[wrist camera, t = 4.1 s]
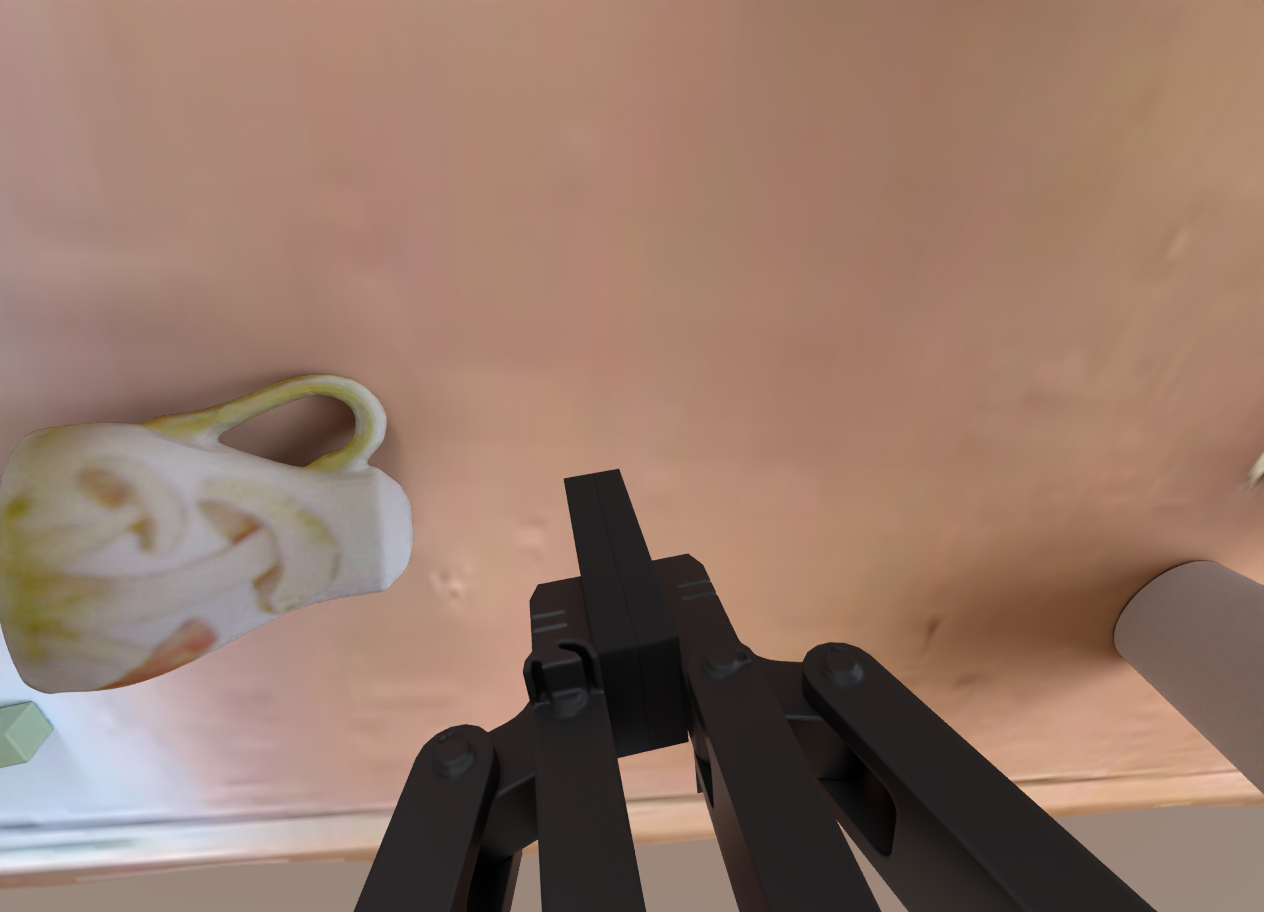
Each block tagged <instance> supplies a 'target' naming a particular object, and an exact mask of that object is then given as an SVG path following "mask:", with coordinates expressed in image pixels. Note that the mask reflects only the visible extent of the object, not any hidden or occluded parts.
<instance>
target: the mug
mask: <svg viewBox="0 0 1264 912" xmlns="http://www.w3.org/2000/svg"><path fill="white" fill-rule="evenodd" d="M315 395H325V396H329V397H332V398H336V399H340V400H341V401H343V402H345V403H346V404H347V405H348V406H349V407H350V408H351V410H352V411H353V414H354V416H355V419H356V425H355V434H354V437H353V438H352V440H351V442H350V443H349V444H347V445H346V446H345V447H344V448H342V449H340V450H337V451H334V452H330V453H327V454H325V455H323V456H322V457H320V458H318V459H317V460H316V461H314V462H313V463H311V464H310V465H308V466H305V467H297V466H292V465H288V464H283V463H279V462H275V461H271V460H268V459H265V458H262V457H259V456H255V455H252V454H249V453H246V452H243V451H240V450H238V449H235V448H232V447H229V446H226V445H224V444H222V443H220V441H219V436H220V435H221V434H222V433H223V432H225V431H227V430H229V429H231V428H233V427H236V426H238V425H240V424H242V423H244V422H246V421H247V420H249V419H251V418H253V417H255V416H257V415H259V414H262V413H264V412H266V411H269V410H271V409H273V408H275V407H278V406H280V405H283V404H286V403H289V402H292V401H295V400H298V399H301V398H305V397H309V396H315ZM386 427H387V418H386V414H385V410H384V408H383V406H382V405H381V403H380V401H379V400H378V399H377V398H376V397H375V396H374V395H373V394H372V393H371V392H370V391H369V390H368V389H367V388H366V387H364V386H362V385H361V384H359V383H357V382H356V381H354V380H351V379H347V378H343V377H339V376H334V375H329V374H325V375H304V376H299V377H294V378H290V379H286V380H283V381H280V382H278V383H275V384H273V385H270V386H268V387H265V388H263V389H261V390H258V391H256V392H253V393H251V394H248V395H246V396H243V397H240V398H237V399H234V400H231V401H228V402H225V403H222V404H219V405H216V406H213V407H210V408H207V409H203V410H195V411H192V412H188V413H177V414H171V415H164V416H160V417H157V418H154V419H152V420H150V421H148V422H146V423H144V424H131V423H115V422H102V423H84V424H75V425H67V426H59V427H51V428H43V429H40V430H37V431H34V432H32V433H30V434H28V435H26V436H25V437H23V438H22V439H21V440H20V442H19V443H18V445H17V446H16V448H15V449H14V450H13V452H12V453H11V455H10V457H9V459H8V461H7V464H6V466H5V470H4V473H3V476H2V480H1V485H0V623H1V628H2V631H3V635H4V639H5V642H6V645H7V648H8V650H9V653H10V655H11V658H12V660H13V663H14V665H15V667H16V669H17V671H18V673H19V675H20V677H21V679H22V680H23V682H24V683H25V684H26V685H28V686H29V687H31V688H33V689H35V690H37V691H40V692H43V693H48V694H54V693H61V692H86V691H100V690H108V689H115V688H120V687H125V686H129V685H133V684H136V683H140V682H143V681H146V680H149V679H152V678H154V677H157V676H160V675H162V674H165V673H167V672H170V671H172V670H175V669H177V668H179V667H181V666H183V665H185V664H188V663H190V662H192V661H194V660H196V659H198V658H200V657H202V656H204V655H206V654H208V653H210V652H212V651H214V650H216V649H218V648H220V647H222V646H223V645H225V644H227V643H229V642H231V641H233V640H235V639H237V638H239V637H241V636H243V635H244V634H246V633H248V632H250V631H252V630H254V629H256V628H258V627H260V626H262V625H264V624H266V623H268V622H270V621H272V620H274V619H276V618H278V617H280V616H282V615H284V614H286V613H289V612H291V611H293V610H296V609H299V608H302V607H305V606H308V605H312V604H315V603H320V602H323V601H327V600H332V599H337V598H343V597H349V596H356V595H363V594H369V593H375V592H382V591H384V590H386V589H387V588H388V587H389V586H390V585H391V584H392V583H393V582H394V581H395V580H396V579H397V578H398V577H399V576H400V575H401V574H402V573H403V571H404V570H405V568H406V567H407V564H408V562H409V559H410V554H411V547H412V541H413V527H412V516H411V505H410V503H409V500H408V497H407V495H406V494H405V492H404V491H403V489H402V488H401V486H400V485H399V484H398V483H397V482H396V481H394V480H393V479H392V478H391V477H389V476H388V475H387V474H385V473H384V472H382V471H381V470H380V469H378V468H376V467H372V466H369V465H368V464H367V462H368V460H369V458H370V457H371V456H372V454H373V453H374V452H375V451H376V449H377V448H378V447H379V446H380V445H381V443H382V442H383V440H384V437H385V432H386Z"/></svg>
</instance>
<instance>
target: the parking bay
mask: <svg viewBox="0 0 1264 912" xmlns="http://www.w3.org/2000/svg"><path fill="white" fill-rule="evenodd" d="M52 731H53V727H52V726H51V724H50V723H49V722H48V720H47V719H46V718H45V716H44V715H43V714H42V712H41V711H40V710H39V708H38V707H37V706H36V704H35V703H34V702H28V703H23V704H18V705H13V706H8V707H3V708H0V768H2V767H7V766H12V765H17V764H22V763H26V762H28V761H29V760H30V759H31V758H32V757H33V755H34V754H35V753H36V751H37V750H38V749H39V747H40V746H41V745H42V744H43V742H44V741H45V740H46V738H47V737H48V736H49V735H50V733H51V732H52Z"/></svg>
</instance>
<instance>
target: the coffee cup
mask: <svg viewBox="0 0 1264 912" xmlns="http://www.w3.org/2000/svg"><path fill="white" fill-rule="evenodd" d="M1114 644H1115V647H1116V650H1117V651H1118V653H1119V654H1120V655H1121V656H1122V657H1123V658H1124V659H1125V660H1126V661H1127V662H1128V663H1129V664H1130V665H1131V666H1132V667H1133V668H1134V669H1135V670H1136V671H1137V672H1138V673H1139V674H1140V675H1141V676H1143V677H1144V678H1145V679H1146V680H1147V681H1148V682H1149V683H1150V684H1151V685H1152V686H1153V687H1154V688H1155V689H1156V690H1157V691H1158V692H1159V693H1160V694H1161V695H1162V696H1163V697H1164V698H1165V699H1166V700H1167V701H1168V702H1169V703H1170V704H1171V705H1172V706H1173V707H1174V708H1175V709H1176V710H1178V711H1179V712H1180V713H1181V714H1182V715H1183V716H1184V717H1185V718H1186V719H1187V720H1188V721H1189V722H1190V723H1191V724H1192V725H1193V726H1194V727H1195V728H1196V729H1197V730H1198V731H1199V732H1200V733H1201V734H1202V735H1203V736H1204V737H1205V738H1206V739H1207V740H1208V741H1209V742H1210V743H1211V744H1212V745H1213V746H1215V747H1216V748H1217V749H1218V750H1219V751H1220V752H1221V753H1222V754H1223V755H1224V756H1225V757H1226V758H1227V759H1228V760H1229V761H1230V762H1231V763H1232V764H1233V765H1234V766H1235V767H1236V768H1237V769H1238V770H1239V771H1240V772H1241V773H1242V774H1243V775H1244V776H1245V777H1246V778H1247V779H1248V780H1249V781H1250V782H1251V783H1252V784H1254V785H1255V786H1256V787H1257V788H1258V789H1259V790H1260V791H1261V792H1262V793H1263V794H1264V586H1263V585H1261V584H1259V583H1257V582H1255V581H1253V580H1251V579H1249V578H1247V577H1245V576H1243V575H1241V574H1239V573H1237V572H1235V571H1233V570H1231V569H1229V568H1227V567H1225V566H1223V565H1221V564H1219V563H1216V562H1212V561H1196V562H1191V563H1187V564H1183V565H1181V566H1178V567H1175V568H1173V569H1171V570H1169V571H1167V572H1165V573H1163V574H1162V575H1160V576H1158V577H1157V578H1155V579H1154V580H1152V581H1151V582H1150V583H1148V584H1147V585H1146V586H1145V587H1144V588H1142V589H1141V590H1140V591H1139V592H1138V593H1137V594H1136V595H1135V596H1134V597H1133V598H1132V600H1131V601H1130V602H1129V603H1128V605H1127V606H1126V607H1125V609H1124V610H1123V612H1122V614H1121V615H1120V617H1119V619H1118V622H1117V624H1116V627H1115V631H1114Z"/></svg>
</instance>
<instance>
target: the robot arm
mask: <svg viewBox="0 0 1264 912" xmlns="http://www.w3.org/2000/svg"><path fill="white" fill-rule="evenodd" d="M564 484H565V489H566V495H567V501H568V506H569V512H570V518H571V523H572V529H573V535H574V540H575V546H576V552H577V558H578V563H579V569H580V574H581V576H579V577H574V578H569V579H564V580H559V581H554V582H549V583H543V584H538V585H537V587H536V589H535V591H534V593H533V595H532V597H531V599H530V618H531V633H532V634H531V636H532V652H531V654H530V655H529V656H528V658H527V659H526V660H525V664H524V668H523V675H524V679H525V683H526V687H527V691H528V695H529V699H530V701H529V702H528V704H527V705H526V707H525V708H524V709H523V710H522V711H521V712H520V713H519V714H518V715H517V716H516V717H515V718H513V719H511V720H510V721H508V722H507V723H505V724H503V725H501V726H499V727H497V728H495V729H494V730H492V731H490V732H486V731H485V730H484V729H482V728H481V727H479V726H473V725H467V724H464V725H459V726H454V727H450V728H448V729H446V730H444V731H442V732H440V733H438V734H436V735H435V736H434V737H433V738H431V739H430V740H429V741H428V742H427V743H426V744H425V745H424V746H423V748H422V749H421V751H420V752H419V754H418V756H417V757H416V759H415V762H414V764H413V766H412V769H411V771H410V774H409V776H408V779H407V781H406V784H405V786H404V789H403V791H402V794H401V796H400V798H399V801H398V803H397V806H396V808H395V811H394V813H393V816H392V818H391V821H390V823H389V826H388V828H387V831H386V833H385V835H384V838H383V840H382V843H381V845H380V848H379V850H378V853H377V855H376V858H375V860H374V863H373V865H372V868H371V870H370V873H369V875H368V877H367V880H366V883H365V885H364V888H363V890H362V892H361V895H360V897H359V900H358V902H357V905H356V907H355V910H354V912H510V910H511V905H512V900H513V895H514V890H515V886H516V881H517V876H518V871H519V866H520V861H521V857H522V849H523V848H525V847H526V846H528V845H530V844H531V843H533V842H534V841H536V840H538V846H539V864H540V884H541V901H542V902H541V903H542V912H646V908H645V903H644V898H643V893H642V887H641V883H640V877H639V871H638V867H637V861H636V856H635V850H634V845H633V839H632V834H631V829H630V824H629V818H628V813H627V808H626V802H625V797H624V792H623V786H622V781H621V776H620V771H619V765H618V760H617V758H621V757H625V756H629V755H634V754H638V753H642V752H646V751H651V750H655V749H659V748H664V747H668V746H672V745H677V744H681V743H685V742H689V740H688V732H689V735H690V738H691V741H692V744H693V748H694V758H695V769H696V780H697V792H698V793H701V792H703V794H704V797H705V800H706V804H707V807H708V810H709V813H710V817H711V820H712V823H713V827H714V830H715V833H716V836H717V840H718V843H719V846H720V850H721V853H722V856H723V859H724V862H725V866H726V869H727V872H728V876H729V879H730V882H731V886H732V889H733V892H734V895H735V899H736V902H737V905H738V908H739V911H740V912H881V910H880V908H879V906H878V904H877V902H876V900H875V898H874V896H873V894H872V892H871V890H870V888H869V886H868V884H867V882H866V879H865V877H864V875H863V873H862V871H861V870H860V867H859V865H858V863H857V862H856V859H855V857H854V855H853V853H852V851H851V849H850V847H849V845H848V843H847V841H846V839H845V837H844V835H843V833H842V830H841V828H840V826H839V824H838V822H839V823H840V825H841V826H842V827H843V829H844V830H845V831H846V832H847V834H848V835H849V836H850V837H851V839H852V840H853V841H854V843H855V844H856V845H857V846H858V848H859V849H860V850H861V852H862V853H863V854H864V855H865V857H866V858H867V859H868V860H869V862H870V863H871V864H872V866H873V867H874V868H875V869H876V871H877V872H878V873H879V875H880V876H881V877H882V878H883V880H884V881H885V882H886V883H887V885H888V886H889V887H890V888H891V890H892V891H893V892H894V894H895V895H896V896H897V897H898V899H899V900H900V901H901V903H902V904H903V905H904V906H905V908H906V909H907V910H908V911H909V912H1157V911H1156V910H1155V909H1153V908H1152V907H1151V906H1150V905H1149V904H1148V903H1146V901H1145V900H1143V899H1142V898H1141V897H1140V896H1139V895H1138V894H1137V893H1136V892H1134V891H1133V890H1132V889H1131V888H1130V887H1129V886H1128V885H1127V884H1126V883H1124V882H1123V881H1122V880H1121V879H1120V878H1119V877H1118V876H1117V875H1115V874H1114V873H1113V872H1112V871H1111V870H1110V869H1109V868H1108V867H1107V866H1105V865H1104V864H1103V863H1102V862H1101V861H1100V860H1098V858H1096V857H1095V856H1094V855H1093V854H1092V853H1091V852H1090V851H1088V850H1087V849H1086V848H1085V847H1084V846H1083V845H1082V844H1081V843H1080V842H1079V841H1077V840H1076V839H1075V838H1074V837H1073V836H1072V835H1071V834H1070V833H1069V832H1067V831H1066V830H1065V829H1064V828H1063V827H1062V826H1061V825H1059V824H1058V823H1057V822H1056V821H1055V820H1054V819H1053V818H1052V817H1051V816H1050V815H1048V814H1047V813H1046V812H1045V811H1044V810H1043V809H1042V808H1041V807H1039V806H1038V805H1037V804H1036V803H1035V802H1034V801H1033V800H1032V799H1031V798H1029V797H1028V796H1027V795H1026V794H1025V793H1024V792H1023V791H1022V790H1020V789H1019V788H1018V787H1017V786H1016V785H1015V784H1014V783H1013V782H1012V781H1010V780H1009V779H1008V778H1007V777H1006V776H1005V775H1004V774H1003V773H1001V772H1000V771H999V770H998V769H997V768H996V767H995V766H994V765H993V764H991V763H990V762H989V761H988V760H987V759H986V758H985V757H984V756H982V755H981V754H980V753H979V752H978V751H977V750H976V749H975V748H974V747H972V746H971V745H970V744H969V743H968V742H967V741H966V740H965V739H963V738H962V737H961V736H960V735H959V734H958V733H957V732H956V731H955V730H953V729H952V728H951V727H950V726H949V725H948V724H947V723H946V722H944V721H943V720H942V719H941V718H940V717H939V716H938V715H937V714H936V713H934V712H933V711H932V710H931V709H930V708H929V707H928V706H927V705H925V704H924V703H923V702H922V701H921V700H920V699H919V698H918V697H917V696H915V695H914V694H913V693H912V692H911V691H910V690H909V689H908V688H906V687H905V686H904V685H903V684H902V683H901V682H900V681H899V680H898V679H896V678H895V677H894V676H893V675H892V674H891V673H890V672H889V671H887V670H886V669H885V668H884V667H883V666H882V665H881V664H880V663H878V662H877V661H876V660H875V659H874V658H873V657H872V656H871V655H869V654H868V653H866V652H865V651H863V650H862V649H860V648H858V647H855V646H852V645H849V644H846V643H834V642H829V643H825V644H821V645H817V646H816V647H814V648H813V649H811V650H810V651H809V652H807V654H806V656H805V658H804V660H803V662H786V661H775V660H769V659H766V658H762V657H759V656H757V655H755V654H754V653H753V652H752V651H751V649H750V648H749V647H747V646H746V645H744V644H742V643H741V642H740V641H739V639H738V637H737V635H736V633H735V631H734V629H733V627H732V625H731V623H730V621H729V618H728V616H727V614H726V612H725V610H724V608H723V606H722V604H721V602H720V600H719V597H718V595H716V591H715V589H714V587H713V585H712V583H711V582H710V578H709V576H708V574H707V572H706V570H705V568H704V566H703V564H701V563H700V562H699V561H697V560H696V559H695V558H693V557H692V556H691V555H689V554H683V555H678V556H673V557H668V558H663V559H658V560H653V561H652V560H651V557H650V554H649V551H648V548H647V546H646V543H645V540H644V537H643V534H642V532H641V529H640V526H639V523H638V520H637V518H636V515H635V512H634V509H633V506H632V504H631V501H630V498H629V495H628V492H627V490H626V487H625V484H624V481H623V478H622V476H621V473H620V470H619V469H615V470H609V471H603V472H598V473H592V474H587V475H581V476H575V477H570V478H564ZM837 821H838V822H837Z"/></svg>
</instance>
